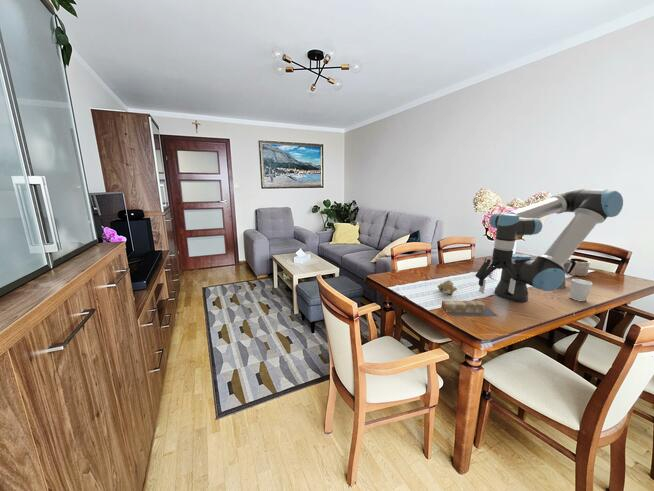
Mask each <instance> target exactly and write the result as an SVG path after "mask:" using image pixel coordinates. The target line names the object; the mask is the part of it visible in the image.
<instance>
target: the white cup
mask: <svg viewBox="0 0 654 491" xmlns="http://www.w3.org/2000/svg"><path fill="white" fill-rule="evenodd" d="M570 282H571V283H570V289H569V295H568V296H569V297H570V298H572V299H576V300H581V301H585V300H586V301H587V300H588V297H589V294H590V292H591V289H592V287H593V286H592V285H593V282H592V281H590V280H585V279H580V278H572V279H571V281H570ZM570 298H569V299H570ZM572 299H571V300H572Z"/></svg>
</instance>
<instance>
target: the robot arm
mask: <svg viewBox="0 0 654 491" xmlns="http://www.w3.org/2000/svg"><path fill="white" fill-rule="evenodd" d="M623 207H624V198H623V195H622V194H621V193H620V192H619V191H617V190H612V189H590V188H589V189H587V188H578V189H572V190H568V191H564V192H560V193H557V194H554V195H551V196H550V197H549V198H548V199H546V200H542V201H539V202H537V203H534V204H530V205H527V206H524V207H521V208H518V209H514V210H512V211H510V212H509V211H508V212H506V213H501V212H500V213H498V212H497V213H493V214H492V215H491V216H490V218H489V221H488V223H489V225H490V227H492V228H493V229H496V231H495V238H494V239H495V240H494V244H493V247H494V248H493V250H492V258H488V257H486V258H484V261H483V263H482V265H481V266H480V268H479V269H478V270H477V271H476V272H477V273H476V274H475V278H477V279H478V286H479V291H478V292H479V293H481V294H485V288H486V281H487V280H486V278H487V277H489V276H490V274H491V273H493V272H494V271H496V270H501V271H500V272H501V275H500V280H499V281H498V284H497V285H496V286H495V288H494V292H493V294H494V295H495V296H496V297H498V298H501V299H504V300H507V301H511V302H514V303H515V302H518V303H523V302H527V301H528V299H529V291H528V288H527V287H528V285H529V286H531V287H533V288H535V289H537V290H540V291H544V292H551V291H555V290H556V289H559V286H561V284H562V283H563V282H564V278H565V279H566V273H565V274H564V272H563V271H564V270H565V269H564V264H565V263H566V261H567V260H568V259H569V258H571V256H572V255H573V254H574V253H575V251H576V250H577V249H578V248H579V247H580V245H581V244H582V242H584V240H585V239H586V238H587V236H588V235H589V234H590V233H591V232H592V231H593V229H594V228H595V226H596V225H598V224H602V223H604V222H605V221H606V219H607V218H614V217H617V216H618V215H619V214H620V213H621V212H622V209H623ZM562 213H573V214H574V216H573V217H572V218H571V220H570V221H569V223H568V224H567V225H566V226H565V228H564V229H563V230H562V231H561V233H560V234H559V235H558V236H557V238H556V239H555V240H554V241H553V243H552V244H551V245H550V246H549V248H548V249H547V250H546V251H545V252H544V254H543V255H538V256H537V257H536V258H535V259H534V260H532V259H533V258H532V256H531V255H530V254H529V255H528V254H522V253H514V249H515V242H516V237H517V236H532V235H538V234H539V233H540V232H542V229H543V222H542V221H541V220H540V219H541V218H543V217H544V218H545V217H547V216H550V215H553V214H557V215H558V214H562Z"/></svg>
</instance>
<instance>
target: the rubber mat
mask: <svg viewBox="0 0 654 491" xmlns="http://www.w3.org/2000/svg"><path fill="white" fill-rule="evenodd" d="M449 313H450V315H451V316H452V317H499V315H498V314H497V313H495V312H494V311H493V310H492V309H491V308H489V307H488V306H487V305H485V304H484V311H483V313H477V312H449Z"/></svg>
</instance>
